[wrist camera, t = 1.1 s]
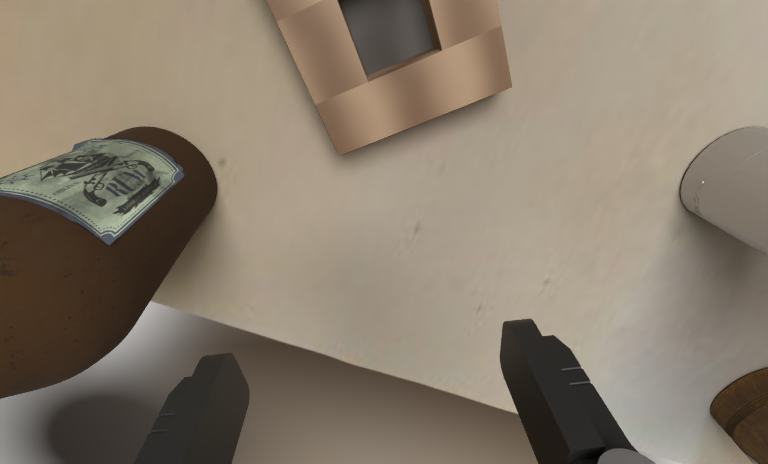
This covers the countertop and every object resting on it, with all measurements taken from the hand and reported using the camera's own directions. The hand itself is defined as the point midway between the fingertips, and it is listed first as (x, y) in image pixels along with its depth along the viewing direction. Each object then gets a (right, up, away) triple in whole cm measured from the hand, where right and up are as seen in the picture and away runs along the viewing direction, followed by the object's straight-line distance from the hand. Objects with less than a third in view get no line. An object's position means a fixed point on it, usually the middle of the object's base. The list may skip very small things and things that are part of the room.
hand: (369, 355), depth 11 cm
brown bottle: (-19, +9, +21) cm, 30 cm away
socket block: (+1, +19, +16) cm, 25 cm away
